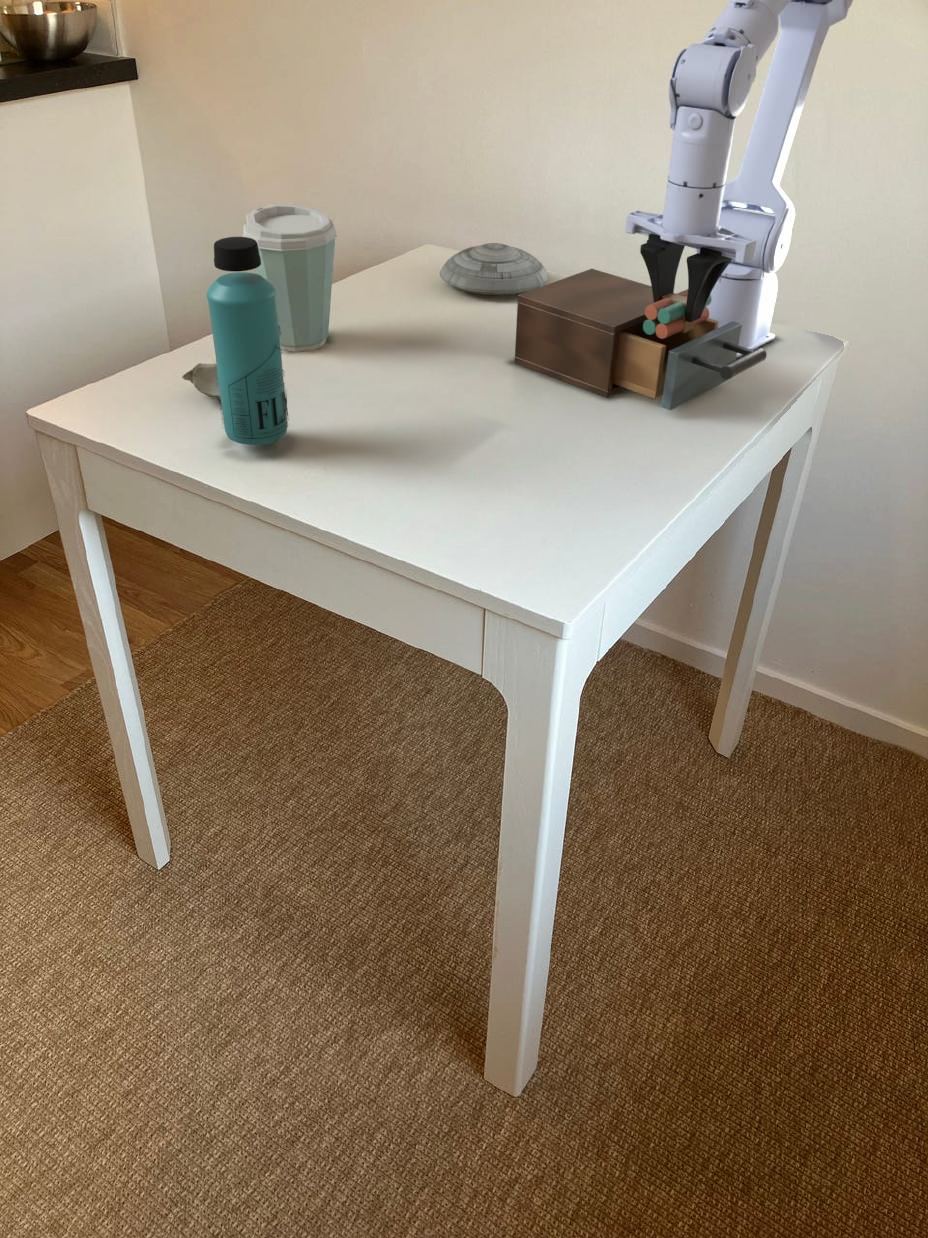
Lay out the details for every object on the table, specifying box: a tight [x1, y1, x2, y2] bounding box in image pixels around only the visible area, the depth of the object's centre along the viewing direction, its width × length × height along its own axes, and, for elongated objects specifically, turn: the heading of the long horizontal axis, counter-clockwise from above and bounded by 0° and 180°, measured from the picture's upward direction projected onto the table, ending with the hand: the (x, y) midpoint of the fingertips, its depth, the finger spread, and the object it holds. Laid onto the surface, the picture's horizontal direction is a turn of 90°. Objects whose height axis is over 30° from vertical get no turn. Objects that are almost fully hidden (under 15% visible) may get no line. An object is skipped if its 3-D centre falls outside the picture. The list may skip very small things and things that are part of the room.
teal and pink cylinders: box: [643, 288, 712, 339], centre depth 112 cm, size 8×3×3 cm, turn 137°
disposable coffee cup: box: [242, 203, 338, 353], centre depth 122 cm, size 11×11×15 cm
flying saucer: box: [439, 242, 549, 296], centre depth 143 cm, size 15×15×6 cm
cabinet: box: [514, 268, 677, 399], centre depth 120 cm, size 14×14×8 cm
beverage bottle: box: [206, 236, 290, 446], centre depth 98 cm, size 6×7×20 cm
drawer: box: [613, 318, 768, 411], centre depth 114 cm, size 17×12×6 cm
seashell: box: [181, 362, 221, 400], centre depth 113 cm, size 8×3×8 cm
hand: (677, 314), depth 112 cm, fingers closed on teal and pink cylinders, 3 cm apart
